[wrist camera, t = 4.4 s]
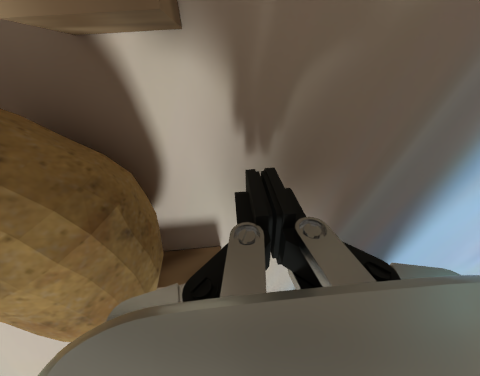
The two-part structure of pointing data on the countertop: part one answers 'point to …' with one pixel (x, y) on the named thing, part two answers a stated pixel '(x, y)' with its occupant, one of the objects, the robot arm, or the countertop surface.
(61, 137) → the potato
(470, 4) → the countertop surface
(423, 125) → the countertop surface
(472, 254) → the countertop surface
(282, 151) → the countertop surface
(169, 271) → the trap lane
